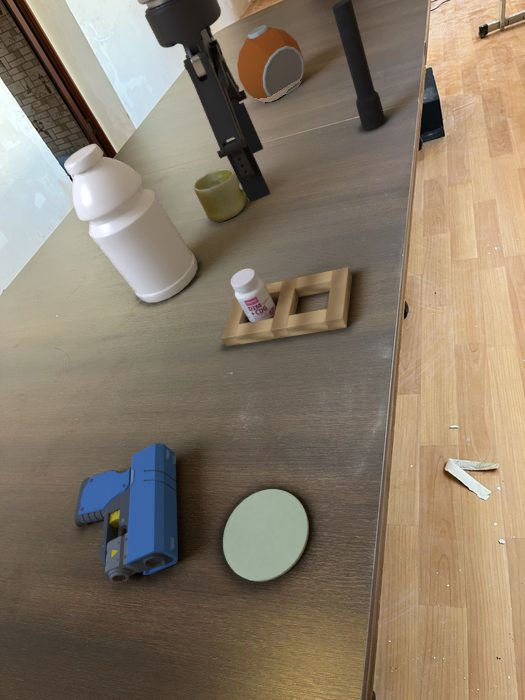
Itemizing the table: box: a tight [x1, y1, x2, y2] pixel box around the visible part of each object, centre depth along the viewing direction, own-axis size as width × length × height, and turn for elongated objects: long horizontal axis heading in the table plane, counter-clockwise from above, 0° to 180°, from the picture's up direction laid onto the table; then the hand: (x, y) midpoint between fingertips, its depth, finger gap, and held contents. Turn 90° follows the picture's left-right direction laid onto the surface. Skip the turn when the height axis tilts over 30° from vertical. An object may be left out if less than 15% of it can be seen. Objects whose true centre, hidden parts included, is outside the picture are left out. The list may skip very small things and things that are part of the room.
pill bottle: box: [230, 268, 277, 322], centre depth 76 cm, size 5×5×8 cm
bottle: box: [63, 143, 198, 304], centre depth 90 cm, size 14×14×28 cm
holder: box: [221, 266, 353, 347], centre depth 76 cm, size 20×11×2 cm, turn 79°
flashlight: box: [331, 0, 386, 131], centre depth 100 cm, size 5×24×5 cm
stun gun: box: [73, 443, 179, 583], centre depth 61 cm, size 4×16×15 cm
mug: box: [193, 168, 247, 223], centre depth 106 cm, size 12×10×10 cm
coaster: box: [222, 488, 310, 583], centre depth 53 cm, size 10×10×1 cm
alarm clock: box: [236, 24, 305, 99], centre depth 141 cm, size 19×18×17 cm
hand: (257, 173), depth 64 cm, fingers open, 13 cm apart
